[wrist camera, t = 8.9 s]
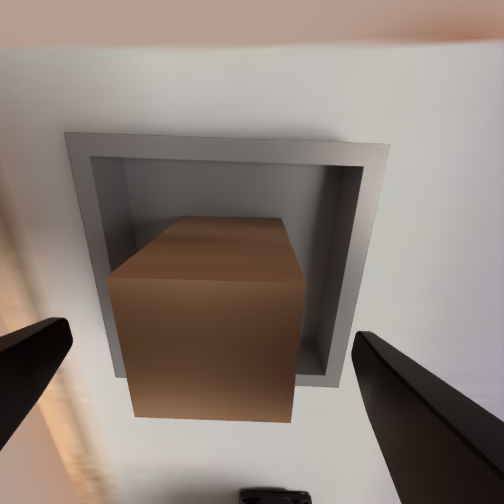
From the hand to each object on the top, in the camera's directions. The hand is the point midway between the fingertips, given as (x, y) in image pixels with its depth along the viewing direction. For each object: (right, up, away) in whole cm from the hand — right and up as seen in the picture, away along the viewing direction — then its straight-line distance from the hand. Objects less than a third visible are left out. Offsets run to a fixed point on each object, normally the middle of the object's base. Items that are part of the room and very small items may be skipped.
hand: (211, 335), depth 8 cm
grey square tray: (0, +2, +7) cm, 7 cm away
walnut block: (0, +2, +6) cm, 6 cm away
